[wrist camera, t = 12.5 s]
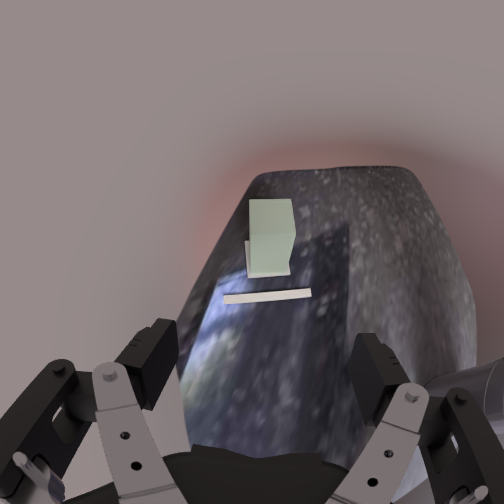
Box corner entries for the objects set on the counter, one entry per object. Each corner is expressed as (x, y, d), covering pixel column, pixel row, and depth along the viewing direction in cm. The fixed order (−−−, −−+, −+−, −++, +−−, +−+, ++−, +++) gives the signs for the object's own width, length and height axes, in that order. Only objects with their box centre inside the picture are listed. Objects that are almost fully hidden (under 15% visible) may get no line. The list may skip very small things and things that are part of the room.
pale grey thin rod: (309, 288, 38) (310, 288, 38) (311, 296, 37) (311, 296, 37) (223, 296, 37) (223, 295, 37) (224, 304, 37) (224, 303, 36)
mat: (284, 239, 42) (284, 238, 41) (290, 274, 39) (290, 273, 39) (244, 241, 41) (244, 240, 41) (247, 278, 39) (247, 277, 38)
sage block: (282, 242, 41) (290, 199, 32) (285, 272, 39) (295, 233, 30) (249, 243, 41) (249, 199, 32) (250, 273, 39) (250, 234, 30)
